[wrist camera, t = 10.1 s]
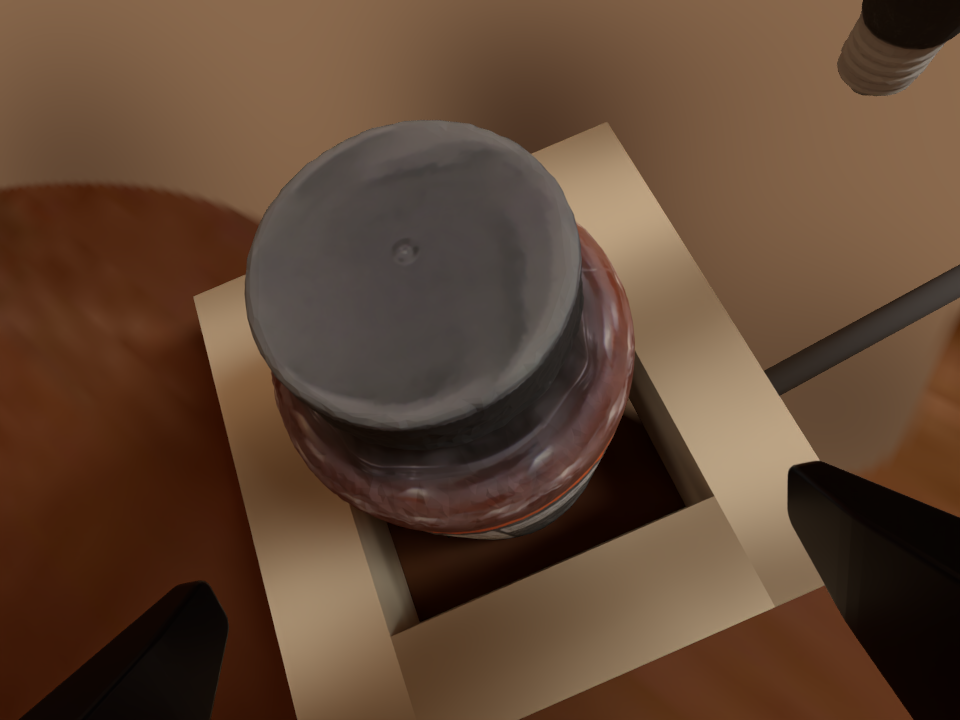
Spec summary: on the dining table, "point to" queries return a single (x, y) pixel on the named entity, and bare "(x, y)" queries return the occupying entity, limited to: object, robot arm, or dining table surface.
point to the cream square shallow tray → (566, 584)
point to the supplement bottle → (440, 330)
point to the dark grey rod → (865, 332)
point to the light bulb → (895, 43)
